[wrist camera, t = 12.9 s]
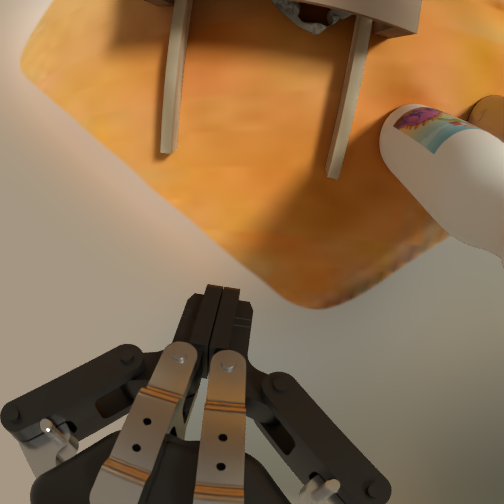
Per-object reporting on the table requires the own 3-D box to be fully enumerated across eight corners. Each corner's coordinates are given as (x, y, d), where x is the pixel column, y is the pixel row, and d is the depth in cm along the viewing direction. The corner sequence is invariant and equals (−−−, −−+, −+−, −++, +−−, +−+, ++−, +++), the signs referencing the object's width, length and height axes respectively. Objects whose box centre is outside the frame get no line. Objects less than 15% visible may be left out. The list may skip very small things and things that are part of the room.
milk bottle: (434, 185, 28) (549, 324, 11) (368, 169, 28) (469, 323, 11) (454, 116, 23) (610, 209, 7) (386, 92, 23) (546, 163, 7)
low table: (400, -61, 14) (427, -82, 9) (356, 177, 28) (374, 204, 23) (179, -92, 13) (157, -118, 8) (145, 145, 28) (117, 166, 23)
